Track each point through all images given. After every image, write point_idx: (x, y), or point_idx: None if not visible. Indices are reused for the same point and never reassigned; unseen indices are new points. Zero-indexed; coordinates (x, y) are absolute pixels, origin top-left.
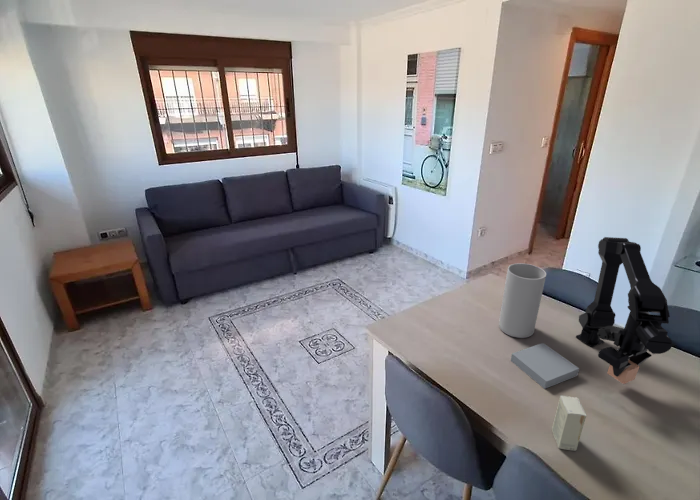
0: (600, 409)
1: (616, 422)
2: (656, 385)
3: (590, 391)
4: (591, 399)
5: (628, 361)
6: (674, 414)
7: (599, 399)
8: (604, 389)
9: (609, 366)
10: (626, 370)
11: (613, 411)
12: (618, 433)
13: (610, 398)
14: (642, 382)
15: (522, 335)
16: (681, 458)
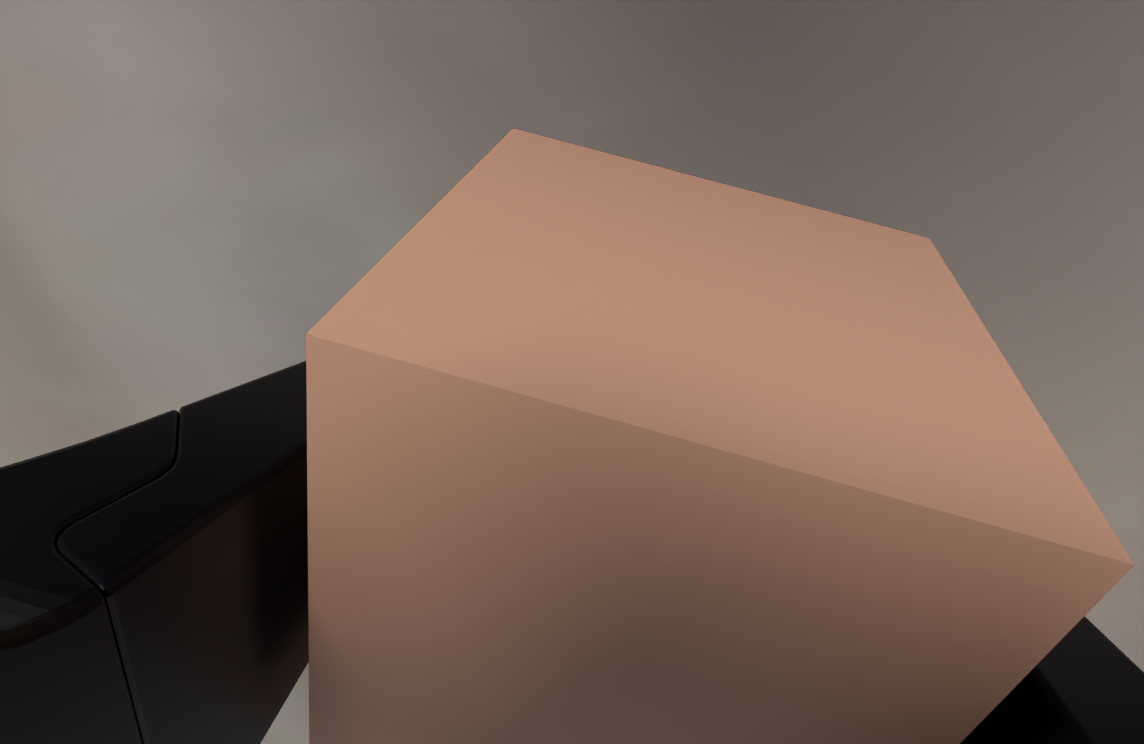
0: (69, 254)
1: (96, 417)
2: (1136, 570)
3: (202, 9)
4: (86, 104)
5: (827, 733)
6: None
7: (194, 178)
8: (446, 139)
9: (436, 209)
10: (316, 716)
11: (191, 357)
12: (14, 459)
13: (349, 266)
14: (1087, 450)
15: None
16: (266, 734)
